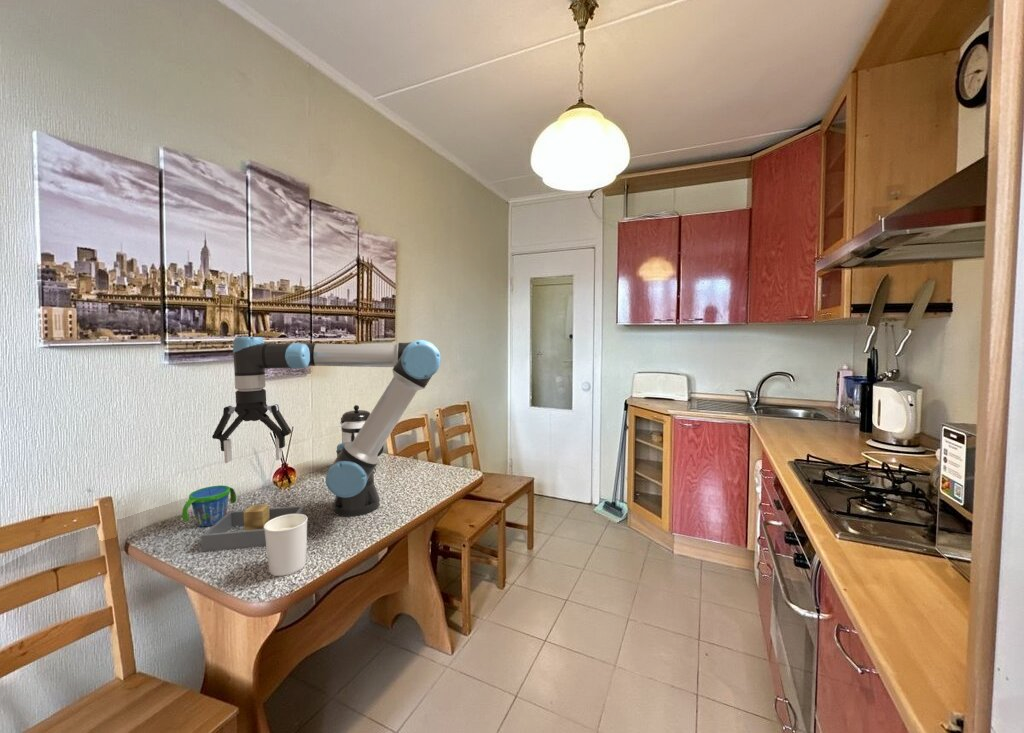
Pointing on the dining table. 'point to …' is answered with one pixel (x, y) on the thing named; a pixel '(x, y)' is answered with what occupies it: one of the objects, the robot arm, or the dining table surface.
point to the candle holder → (286, 543)
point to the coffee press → (354, 425)
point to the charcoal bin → (240, 539)
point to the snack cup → (209, 504)
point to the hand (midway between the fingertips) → (254, 460)
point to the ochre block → (256, 517)
